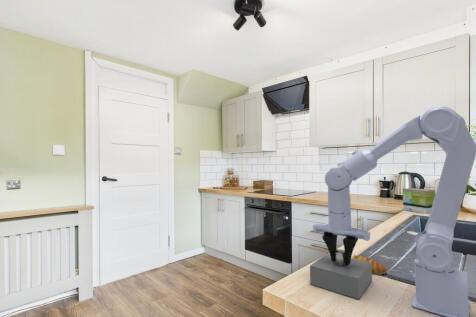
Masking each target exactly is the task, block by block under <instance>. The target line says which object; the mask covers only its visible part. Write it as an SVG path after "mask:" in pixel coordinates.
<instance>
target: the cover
mask: <svg viewBox="0 0 476 317" xmlns="http://www.w3.org/2000/svg"><path fill="white" fill-rule="evenodd" d="M352 258H353V257H351V261H350V264H349V265H345V250H344V249H342V248H341V249H339V248H337V250H335V262H332V261H331V256H330V253H325V254H324V255H322V256H321V257H319V258H318V259H317V260H315V262H313V263H311V264H310V265H309V279H310V280H309V282H310V284H309V285H313V286H316V287H319V288H322V289H325V290H329V291H331V292H335V293H338V294H340V295H344V296H348V297H350V298H353V299H356V300H360V299H361V297H362V296H363V294H364V293H365V291H366V290H367V289H368V287H369V286H370V285H371V283H372V281H373V274H372V265H371V263H370V262H366V261H361V260H356V259H352Z"/></svg>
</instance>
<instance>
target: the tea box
mask: <svg viewBox="0 0 476 317" xmlns="http://www.w3.org/2000/svg"><path fill="white" fill-rule="evenodd" d="M435 194H436V189H427V188H415V187H409V188H408V187H407V188H402V208H403V211H408V212H414V213H419V214H424V215H430V212H431V208H432V205H433V201H434V198H435Z"/></svg>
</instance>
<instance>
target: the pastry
mask: <svg viewBox="0 0 476 317" xmlns="http://www.w3.org/2000/svg"><path fill="white" fill-rule="evenodd" d="M351 258H352V259H356V260H361V261H366V262H370V263H371V265H372V276H380V275H381V276H383V275H382V274H384V275H386V274H385V273H387V266H385V265H384V264H382V263H380V262H378V261H376V260H374V259H372V258H369V257H364V256H363V255H361V256H359V255H355V254H354V255H353V256H352V257H351Z"/></svg>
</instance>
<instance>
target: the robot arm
mask: <svg viewBox="0 0 476 317" xmlns="http://www.w3.org/2000/svg"><path fill="white" fill-rule="evenodd" d="M423 136H424V137H426V138H428V139H429V140H431V141H433V142H435V143H436V144H437V145H438V146H439V147H440V148H441V150H443V151H444V152H445V154H446V155H445V159H444V163H443V166H442V170H441V172H440V177H439V180H438V184H437V187H436V190H435V198H434V201H433V205H432V208H431V212H430V214H428V219H427V222H426V223H425V227H424V230H423V231H422V232H421V233H420V234H419V235H417V238H416V241H415V243H416V244H415V245H416V250H415V253H416V258H415V259H414V282H415V283H414V284H415V294H414V295H413V299H412V303H411V306H412V307H413V308H415V309H420V310H422V311H426V312H430V313H432V314H436V315H440V316H443V317H470V311H469V310H472V309H471V299H469V285H468V273H467V272H466V271H462V270H459V269H457V268H456V267H455V265H454V261H455V259H454V253H453V250H452V245H453V242H454V232H455V228H456V227H455V226H456V223H457V220H458V216H459V214H460V210H461V207H462V203H463V200H464V196H465V193H466V189H467V185H468V183H469V179H470V175H471V174H472V173H471V172H472V168H473V166H474V162H475V160H476V141H475V140H474V138H473V136H472V134H471V132H470V130H469V128H468V126H467V125H466V120H465V118H464V117H463V116H461V115H460V114H459V113H458V112H456V111H455V110H454V109H452V108H450V107H447V106H442V105H441V106H440V105H439V106H436V107H435V106H434V107H431V108H429V109H427V111H425V112H424V113H423V115H422V116H421V115H420V114H419V115H418V116H416V117H414V118H413V119H410V120H409V121H408V122H406V123H404V124H402V125H401V126H400V127H398V128H397V129H396V130H394V131H393V132H392V133H391V134H389V135H388V136H386V137H385V138H383V140H381V141H379V142H378V143H377V144H376V145H374V146H373V147H371V148H370V149H360V150H358V151H357V150H354V151H353V152H352V153H351V156H349V158H347V159H346V160H344V161H342V162H338V163H337V164H336V165H337V167H331V168H330V169H329V170H328V171H327V172H326V174H325V175H324V182H325V185H326V186H327V213H328V214H327V215H328V216H327V217H328V224H320V223H315V224H313V225H312V227H313V228H312V229H313V230H312V231H313V233H323V235H322V236H321V237H322V241H323V242H324V243H325V245H326V247H327V251H328V252H329V254H330V256H331V261H332V262H335V250H337V249H338V248H337V242H338V236H341V237H345V238H343V239H342V242H343V247H344V249H343V250H345V265H349V264H350V261H351V258H352V257H353V256H352V255H353V252H354V249H355V247H356V244H357V242H358V240H364V241H367V242H368V241H371V232H370V231H368V230H362V229H358V228H354V227H352V213H351V212H352V210H351V208H352V207H351V206H352V204H351V194H350V192H351V190H350V186H351V185H352V182H354V181H355V182H356V181H358V180H359V179H360V178H362V177H363V176H365V175H367V174H368V173H369V172H371V171H372V170H374V169H376V168H377V165H378V160H379V159H381V158H383V157H385V156H386V155H387V154H389V153H391V152H392V151H394V150H396V149H397V148H399V147H401V146H402V145H404V144H405V143H408V142H409V141H419V140H423Z"/></svg>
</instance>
